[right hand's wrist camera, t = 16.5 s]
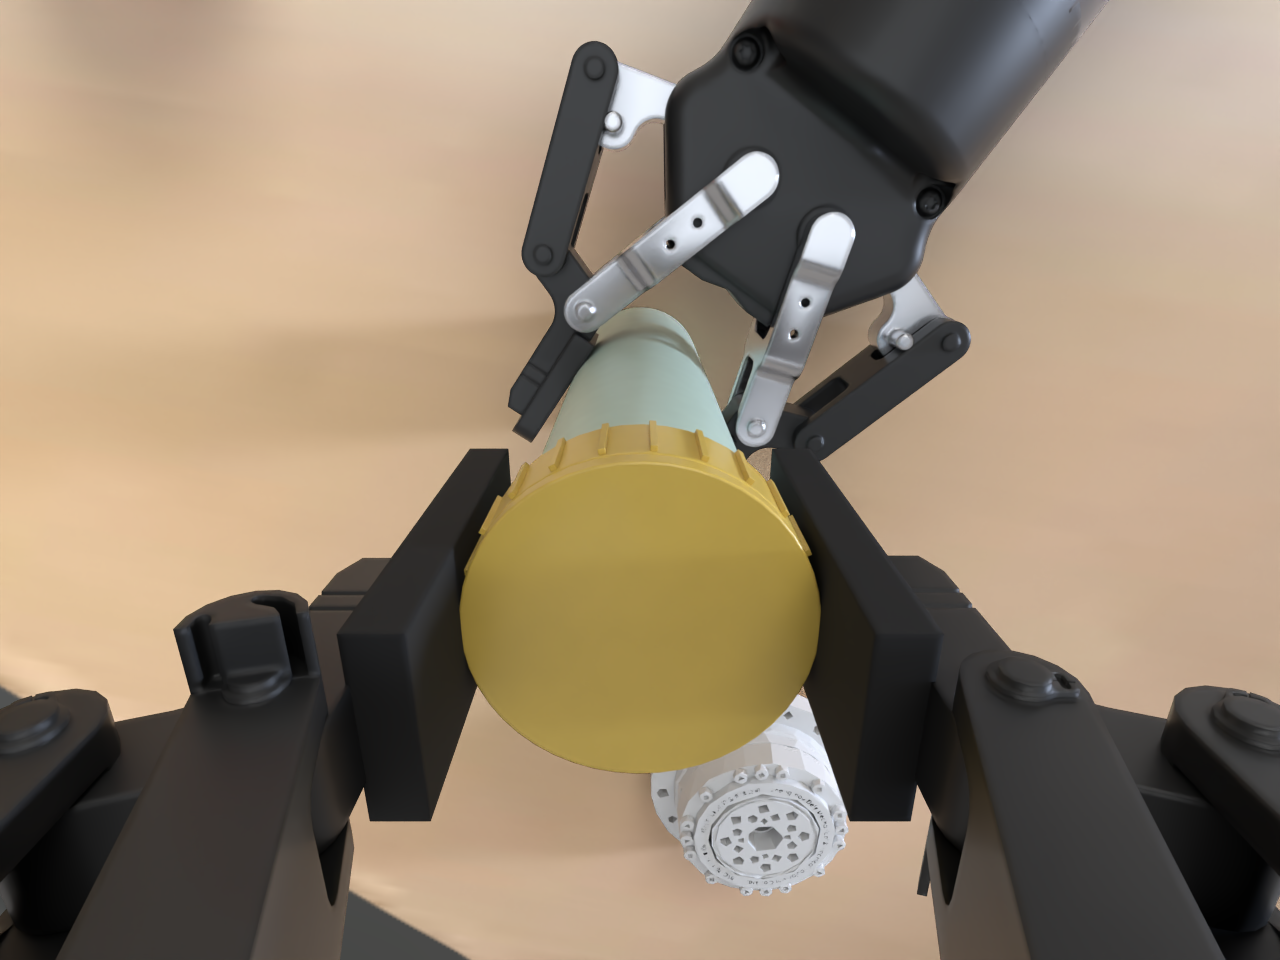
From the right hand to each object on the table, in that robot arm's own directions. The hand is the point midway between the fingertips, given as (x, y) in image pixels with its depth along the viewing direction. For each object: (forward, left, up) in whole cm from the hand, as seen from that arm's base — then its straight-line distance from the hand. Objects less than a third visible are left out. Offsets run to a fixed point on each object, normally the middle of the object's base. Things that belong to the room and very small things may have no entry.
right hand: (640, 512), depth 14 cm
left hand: (-3, 0, -8) cm, 9 cm away
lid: (0, 0, +4) cm, 4 cm away
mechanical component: (-12, -17, -15) cm, 26 cm away
